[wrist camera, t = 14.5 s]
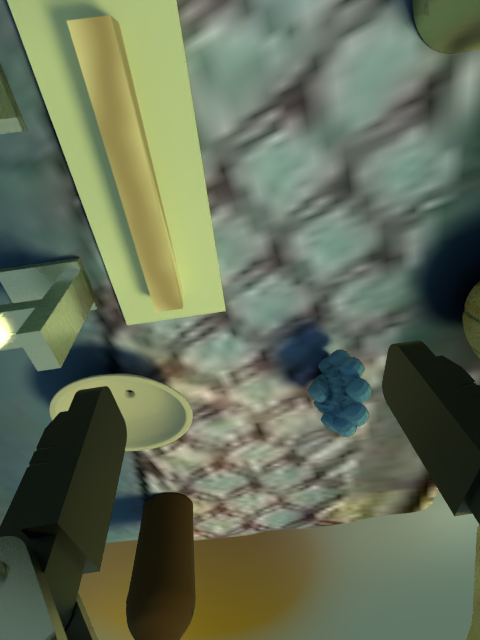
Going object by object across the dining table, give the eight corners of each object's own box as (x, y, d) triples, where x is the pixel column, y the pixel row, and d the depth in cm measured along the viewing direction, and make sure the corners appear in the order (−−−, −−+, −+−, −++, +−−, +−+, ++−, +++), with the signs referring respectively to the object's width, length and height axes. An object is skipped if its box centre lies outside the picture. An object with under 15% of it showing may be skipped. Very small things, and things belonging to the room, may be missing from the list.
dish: (67, 419, 50) (55, 449, 45) (57, 342, 42) (42, 370, 38) (187, 425, 53) (186, 453, 49) (199, 355, 45) (199, 381, 41)
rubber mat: (170, -39, 24) (169, -42, 24) (225, 308, 41) (225, 310, 41) (3, -18, 24) (-1, -20, 24) (128, 322, 41) (127, 325, 41)
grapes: (307, 325, 44) (338, 393, 34) (354, 329, 45) (398, 395, 35) (286, 388, 50) (307, 461, 41) (328, 390, 52) (359, 461, 42)
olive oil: (171, 483, 61) (158, 681, 41) (206, 505, 67) (210, 689, 46) (128, 505, 64) (95, 701, 44) (165, 524, 70) (151, 706, 49)
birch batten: (118, 22, 25) (110, 15, 23) (183, 294, 39) (182, 308, 37) (79, 27, 25) (66, 20, 23) (158, 298, 39) (155, 312, 37)
